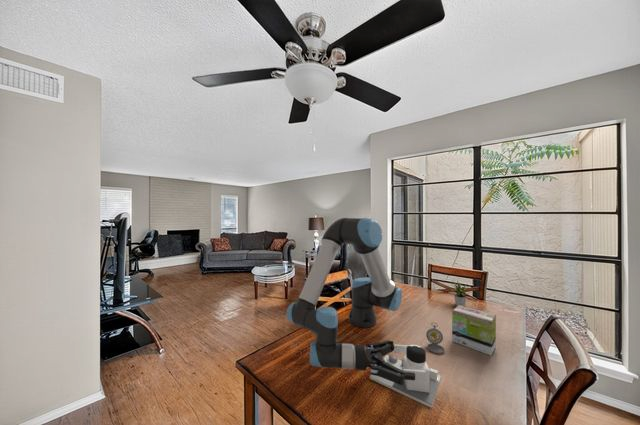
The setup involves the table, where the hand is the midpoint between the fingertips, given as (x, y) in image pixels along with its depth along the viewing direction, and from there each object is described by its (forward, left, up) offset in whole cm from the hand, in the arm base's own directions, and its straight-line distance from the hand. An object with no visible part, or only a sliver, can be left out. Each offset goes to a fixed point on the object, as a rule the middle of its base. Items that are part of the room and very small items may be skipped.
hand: (418, 361), depth 77 cm
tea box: (+13, +43, -9) cm, 46 cm away
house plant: (+2, +93, -9) cm, 93 cm away
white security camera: (-1, 0, -8) cm, 8 cm away
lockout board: (-5, +2, -9) cm, 10 cm away
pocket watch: (0, +29, -9) cm, 30 cm away
